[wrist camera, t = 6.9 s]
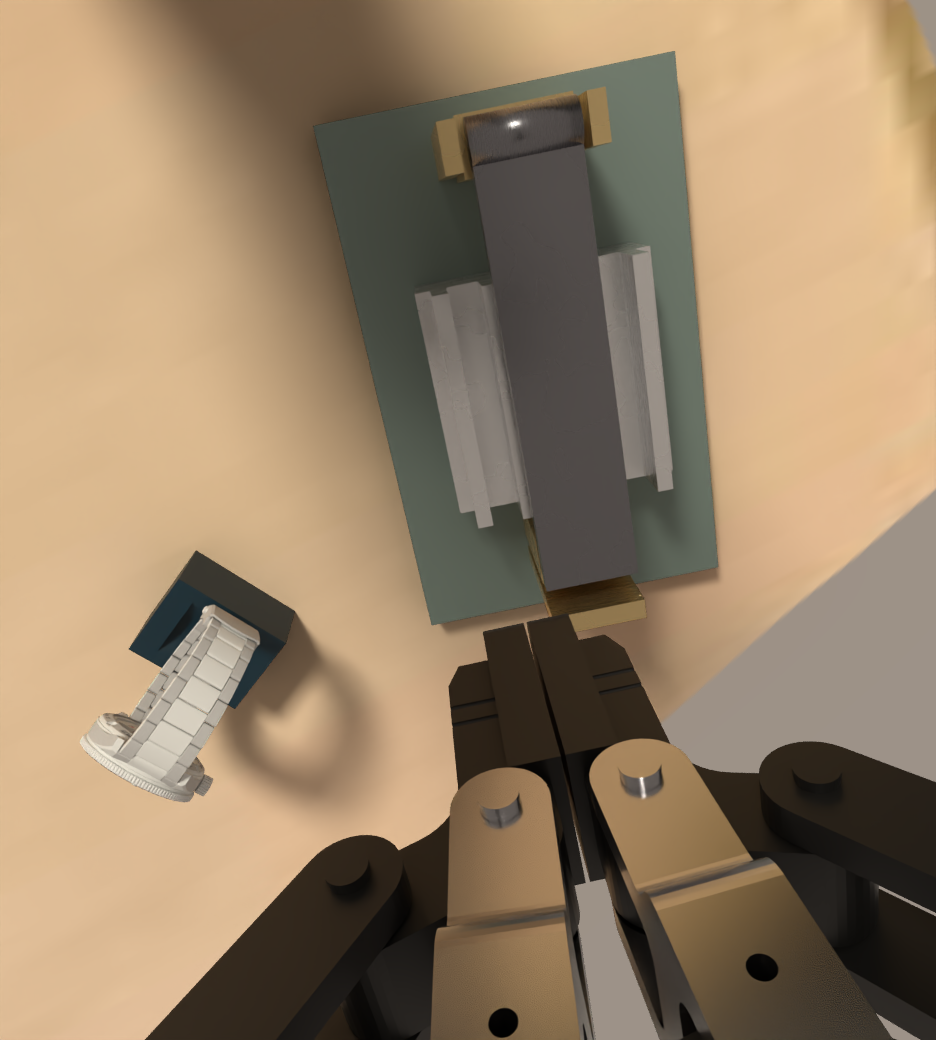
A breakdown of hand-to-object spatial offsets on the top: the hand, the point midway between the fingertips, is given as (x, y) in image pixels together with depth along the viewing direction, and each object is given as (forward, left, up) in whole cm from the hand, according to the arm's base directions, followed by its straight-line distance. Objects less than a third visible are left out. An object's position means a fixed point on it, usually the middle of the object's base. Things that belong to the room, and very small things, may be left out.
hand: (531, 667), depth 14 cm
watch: (+9, -13, -24) cm, 29 cm away
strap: (-1, +4, -17) cm, 18 cm away
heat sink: (0, +4, -23) cm, 23 cm away
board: (0, +4, -24) cm, 24 cm away
